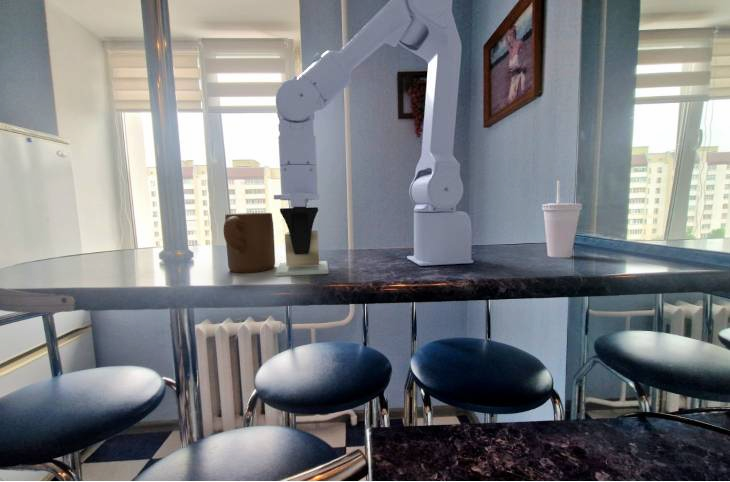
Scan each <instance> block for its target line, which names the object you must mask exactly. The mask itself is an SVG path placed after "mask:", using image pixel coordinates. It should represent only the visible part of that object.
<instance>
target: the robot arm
mask: <svg viewBox="0 0 730 482" xmlns="http://www.w3.org/2000/svg"><path fill="white" fill-rule="evenodd" d="M452 9H453V0H389V1H388V2H387V3H386V4H385V5H384V6H383V7H382V8H381V9H380V10H379V11H378V12H377V13H376V14H375V15H374V16H373V17H372V18H371V19H370V20H369V21H368V22H367V23H366V24H365V25H364V26H363V27H362V28H361V29H360V30H359V31H358V32H357V33H356V34H355V35H354V36H353V37H352V38H351V39H350V40H349V41H348V42H347V43H346V44H345V46H343V47H342V48H341V49H340V50H338V51H337V50H326V51H325V52H324V53H323V54H321V53H319V52H317V53H316V54H315V55H314V56H313V57H312V64H311V65H310V66H309V67H307V68H306V69H305V70H304V71H303V72H302V73H301V74H300V75H299V76H296V75H294V76H292V78H291V79H287V80H285V81H283V82H282V84H281V86H280V87H279V88H278V90H277V92H276V96H275V105H276V109H277V110H276V111H277V112H276V115H277V117H278V120H279V121H278V122H279V123H278V125H277V126H278V127H277V128H278V132H279V135H278V155H279V158H278V159H279V173H280V175H279V177H280V194H274V195H273V200H280V201H290V207H288V208H287V207H282V208H281V207H280V208H279V212H280V214H281V216H282V218H283V220H284V222H285V224H286V226H287V230H288V232H289V233H290V238H291V242H292V247H293V250H294V253H295V255H297V254H308V253H309V249H310V242H311V232H312V231H313V226H314V222H315V218H316V217H317V214H318V211H319V208H318V206H317V207H315V206H313V207H311V206H310V207H308V203H309V201H317V200H320V194H318V193H319V192H318V170H317V169H318V167H317V145H316V143H317V141H316V136H315V134H314V120H315V113H316V112H317V111H320V110H323V109H324V108H325V107H326V106H328V105H329V104H330V103H331V102H332V101H333V100H334V99H335V98H336V97H338V95H340V94H341V93H342V92H343V91H344V90H345V89H346V88H347V87H348V86H349V85H351V83H352V71H353V70H354V69H356V68H357V67H358V66H359V65H361V63H362V62H364V61H365V60H366V59H367V58H369V57H370V56H371V55H372V54H373V53H375V52H376V51H377V50H378V49H379V48H380V47H382V46H383V45H384V44H387V45H389V46H391V47H395V48H396V47H397V46H398V44H399V45H400V46H401V47H403V48H404V49H406V50H408V51H409V52H411V53H412V54H415V55H416V56H418V57H419V58H422V59H423V60H424V61H426V63H427V73H426V74H427V76H426V87H425V101H424V102H425V103H424V104H425V105H424V113H423V114H424V117H423V127H422V128H423V129H422V141H421V142H422V143H421V154H420V155H421V156H420V158H419V161H418V162H417V165H416V167H415V174H414V178H413V179H412V182H411V184H410V186H409V190H408V195H409V199H410V201H411V203H412V204H413V205H414V208H413V255H407V256H406V258H407V259H408V260H410V261H411V262H413V263H415V264H416V265H418V266H439V265H440V266H441V265H443V266H444V265H457V264H472V263H474V260H473V259H472V235H473V234H472V233H473V232H472V229H473V228H472V221H471V217H470V215H469V214H468V213H467V212H465V211H457V205H458V204H459V203H460V201H461V199H462V198H463V194H464V185H463V184H464V183H463V181H462V179H461V173H460V171H461V164H460V162H459V161H458V160H457V159H456V157H455V156H454V146H455V145H454V144H455V133H456V132H455V130H456V123H457V122H456V119H457V108H458V97H459V96H458V95H459V86H460V84H459V83H460V76H461V75H460V74H461V73H460V72H461V60H462V50H463V48H462V41H461V38H460V34H459V31H458V28H457V24H456V21H455V18H454V13H453V11H452Z"/></svg>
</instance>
